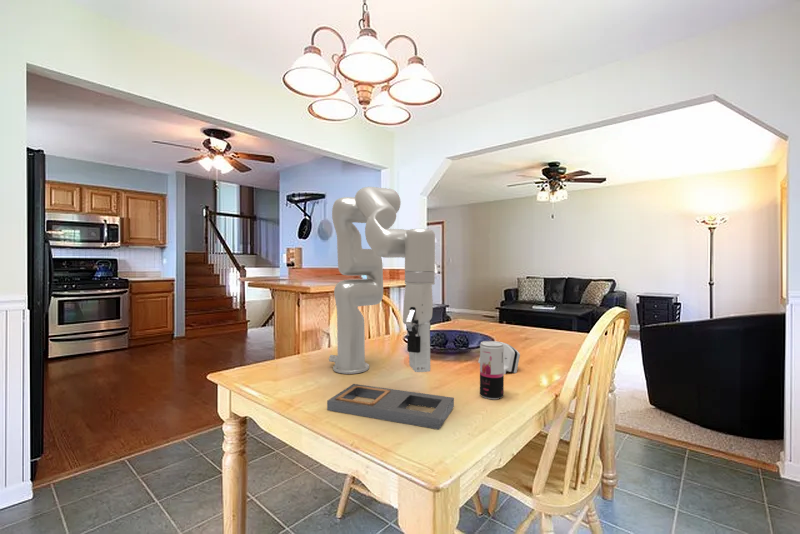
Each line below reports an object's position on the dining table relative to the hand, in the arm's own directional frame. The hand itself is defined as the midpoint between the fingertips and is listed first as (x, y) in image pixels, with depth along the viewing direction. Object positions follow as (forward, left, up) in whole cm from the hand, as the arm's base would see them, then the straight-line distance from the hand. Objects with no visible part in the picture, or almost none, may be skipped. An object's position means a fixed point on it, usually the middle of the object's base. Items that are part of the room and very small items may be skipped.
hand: (419, 347), depth 96 cm
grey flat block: (-8, 0, -17) cm, 18 cm away
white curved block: (+14, +49, -17) cm, 53 cm away
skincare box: (0, 0, -6) cm, 6 cm away
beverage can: (+15, +19, -17) cm, 29 cm away
